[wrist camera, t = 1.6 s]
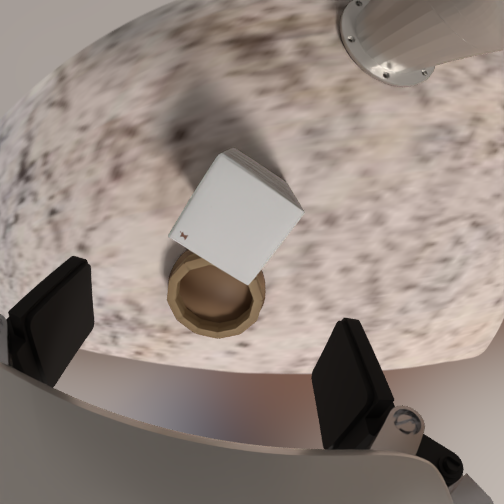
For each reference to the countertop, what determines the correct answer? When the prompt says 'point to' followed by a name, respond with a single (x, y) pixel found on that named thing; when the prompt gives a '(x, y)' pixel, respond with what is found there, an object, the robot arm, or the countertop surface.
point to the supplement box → (237, 216)
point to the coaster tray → (212, 298)
